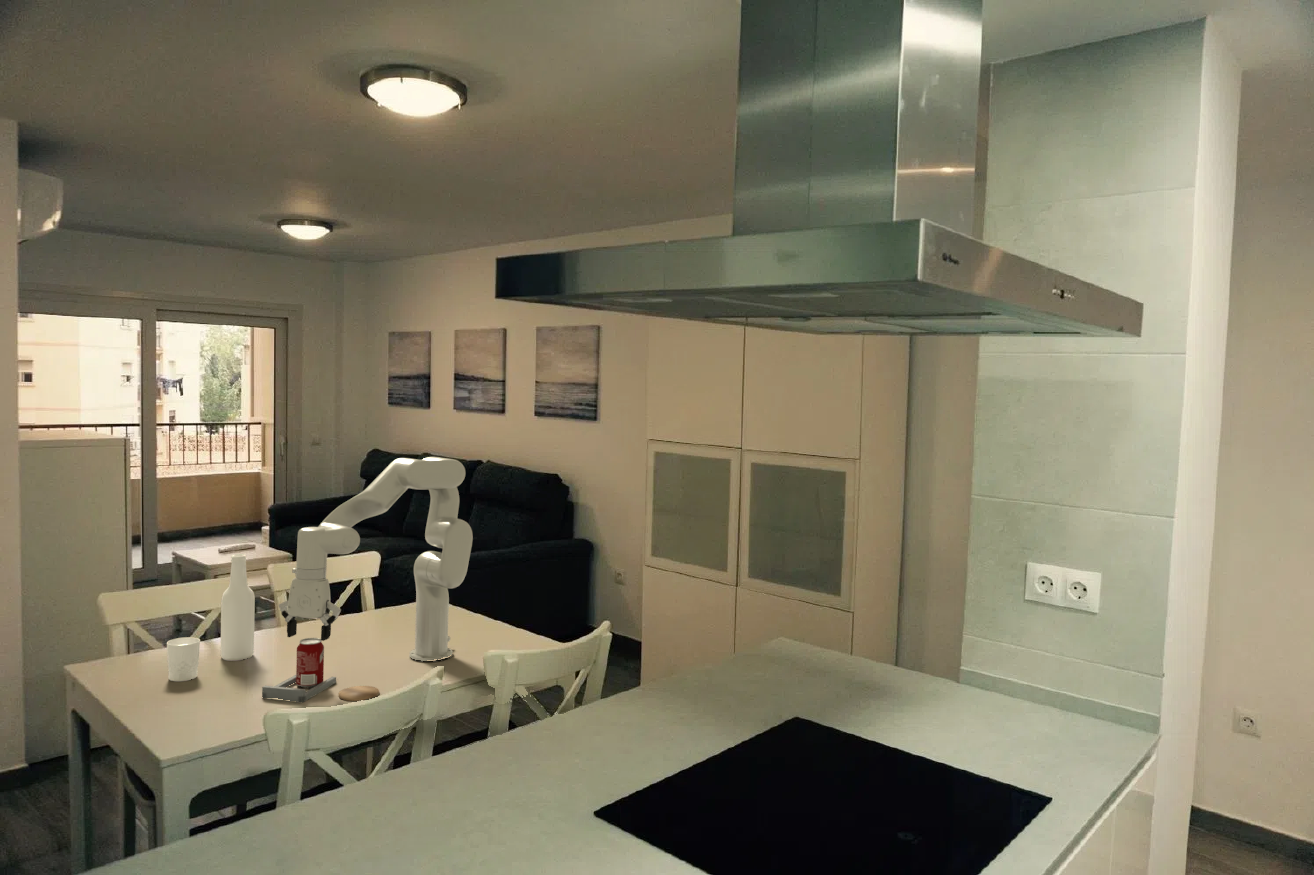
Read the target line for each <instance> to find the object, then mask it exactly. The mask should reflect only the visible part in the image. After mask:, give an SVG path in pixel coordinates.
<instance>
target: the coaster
mask: <svg viewBox="0 0 1314 875" xmlns="http://www.w3.org/2000/svg"><path fill="white" fill-rule="evenodd" d="M379 694H380V689H379V688H377V687H375V686H371V685H354V686H349V687H346V688H343V689H342V690H340V691H339V692H338V694H337V695H338V696H337V697H338V698H339V699H340V700H343V701H347V702H360V701H359V700H363V701H367V700H366V699H369V698H372V699H374V698H377V697H378V695H379ZM373 697H374V698H373ZM369 700H370V699H369Z"/></svg>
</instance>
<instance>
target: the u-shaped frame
mask: <svg viewBox="0 0 1314 875" xmlns="http://www.w3.org/2000/svg"><path fill="white" fill-rule="evenodd" d="M295 682H296V674H294V675H293V676H290V677H289V678H288V679H286V680H284V681H281V682H279V683H277V684H276V685H263V686H262V687H261V698H262V697H263V698H278V699H283V700H290V701H289V702H291V701H296V702H295V703H301V702H302V703H304V702H306V701H308V700H309V699H311V698H312V697H315V696H316V695H318V694H319V693H321V692H323V691H324V690H326V689H328V688H329V687H331V686H333V685H335V684H336V683H337V676H331V677H328V678H327V679H325V680H323V682H322V683H320V684H319V685H317V686H315V687H312V688H309V689H308V690H307V691H306V689H307V688H294V687H290V686H289V685H291V684H293V683H294V684H296V683H295ZM294 684H293V685H294ZM287 686H289V687H287ZM291 686H292V685H291ZM286 687H287V688H286Z"/></svg>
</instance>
